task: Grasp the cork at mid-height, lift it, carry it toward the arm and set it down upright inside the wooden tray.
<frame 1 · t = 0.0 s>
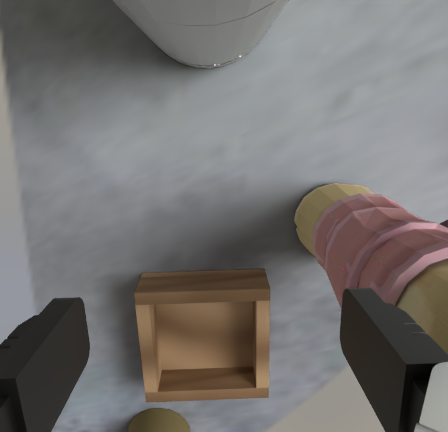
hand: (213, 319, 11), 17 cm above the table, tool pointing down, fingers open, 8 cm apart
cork: (159, 431, 35), on the table
scroll: (339, 219, 29), on the table
wooden tray: (206, 323, 31), on the table
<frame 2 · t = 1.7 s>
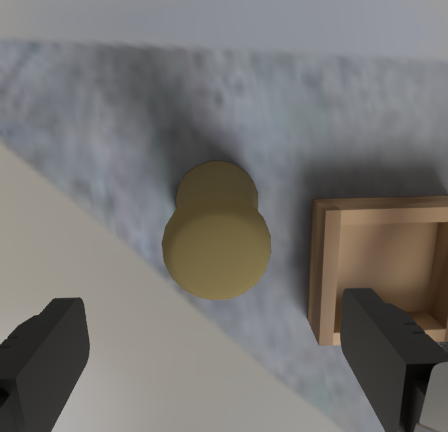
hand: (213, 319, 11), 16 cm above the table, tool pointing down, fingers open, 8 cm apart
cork: (217, 201, 26), on the table
wooden tray: (375, 260, 28), on the table
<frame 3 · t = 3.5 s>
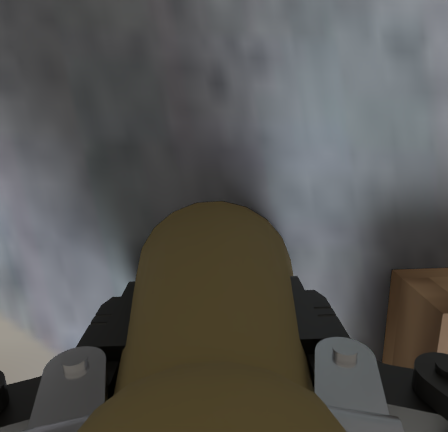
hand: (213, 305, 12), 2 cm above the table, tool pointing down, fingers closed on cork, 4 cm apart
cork: (214, 273, 14), on the table, touching gripper
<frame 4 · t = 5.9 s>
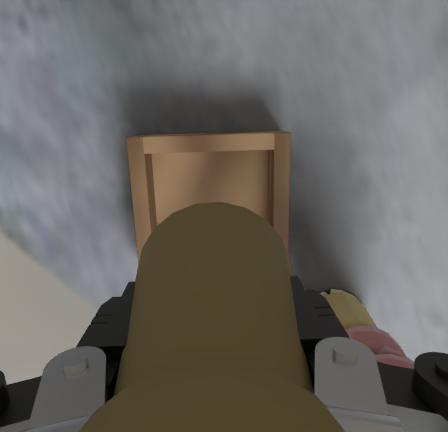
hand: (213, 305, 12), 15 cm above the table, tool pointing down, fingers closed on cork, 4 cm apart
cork: (214, 274, 14), point 12 cm above the table, touching gripper
scroll: (326, 327, 30), on the table
wooden tray: (212, 202, 26), on the table
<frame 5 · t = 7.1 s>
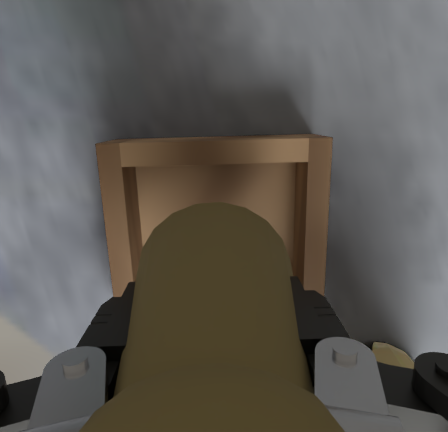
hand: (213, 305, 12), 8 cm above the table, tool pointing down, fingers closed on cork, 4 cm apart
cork: (214, 274, 14), point 6 cm above the table, touching gripper
scroll: (364, 389, 23), on the table
wooden tray: (217, 229, 20), on the table
when the fingers open (4 cm above the table, at t = 8.2 s): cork drops 1 cm, resting on wooden tray.
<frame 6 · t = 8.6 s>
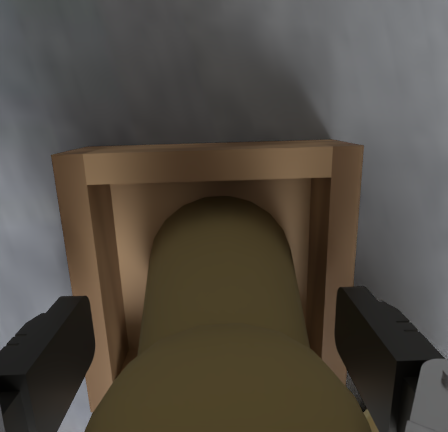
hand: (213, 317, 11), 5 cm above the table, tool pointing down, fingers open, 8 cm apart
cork: (220, 263, 15), point 1 cm above the table, touching wooden tray
wooden tray: (214, 257, 16), on the table
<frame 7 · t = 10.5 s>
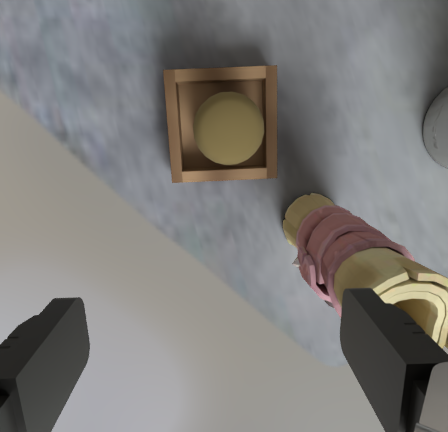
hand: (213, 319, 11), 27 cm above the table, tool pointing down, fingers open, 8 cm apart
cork: (224, 126, 35), point 1 cm above the table, touching wooden tray
scroll: (308, 225, 39), on the table
wooden tray: (221, 125, 36), on the table
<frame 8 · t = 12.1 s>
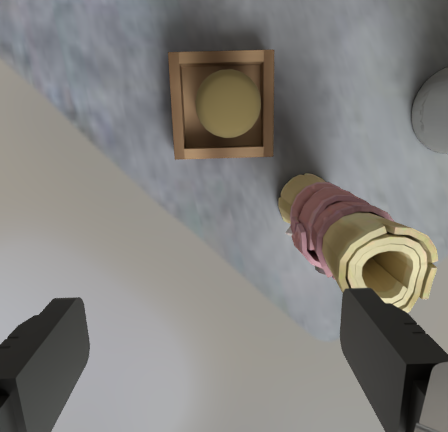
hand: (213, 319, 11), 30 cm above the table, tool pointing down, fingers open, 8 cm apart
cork: (225, 107, 38), point 1 cm above the table, touching wooden tray
scroll: (302, 204, 41), on the table
wooden tray: (222, 107, 38), on the table
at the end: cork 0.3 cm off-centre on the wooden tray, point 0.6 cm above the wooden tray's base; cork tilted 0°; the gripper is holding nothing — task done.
